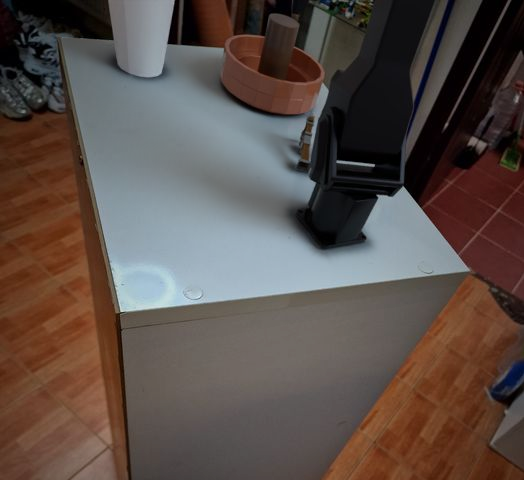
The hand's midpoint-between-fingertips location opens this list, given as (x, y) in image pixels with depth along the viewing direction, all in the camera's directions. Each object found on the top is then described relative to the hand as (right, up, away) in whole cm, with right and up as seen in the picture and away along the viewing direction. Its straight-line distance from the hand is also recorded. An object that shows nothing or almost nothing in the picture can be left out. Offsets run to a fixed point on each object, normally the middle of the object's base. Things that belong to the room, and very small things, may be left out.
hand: (289, 1), depth 58 cm
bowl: (-3, -7, +9) cm, 12 cm away
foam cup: (-22, -6, +5) cm, 23 cm away
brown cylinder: (-3, -7, +9) cm, 11 cm away
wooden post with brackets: (+1, -21, 0) cm, 21 cm away
